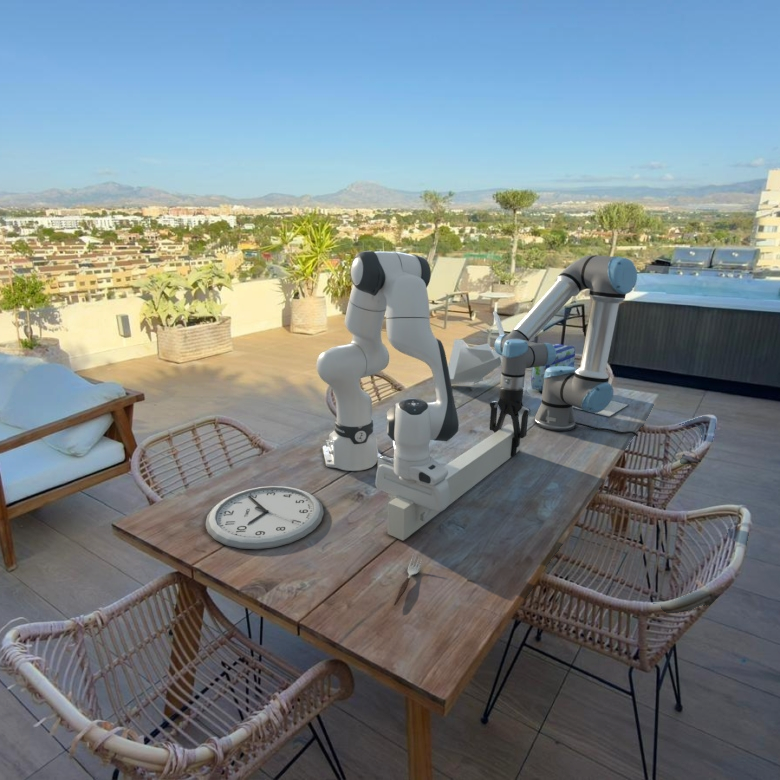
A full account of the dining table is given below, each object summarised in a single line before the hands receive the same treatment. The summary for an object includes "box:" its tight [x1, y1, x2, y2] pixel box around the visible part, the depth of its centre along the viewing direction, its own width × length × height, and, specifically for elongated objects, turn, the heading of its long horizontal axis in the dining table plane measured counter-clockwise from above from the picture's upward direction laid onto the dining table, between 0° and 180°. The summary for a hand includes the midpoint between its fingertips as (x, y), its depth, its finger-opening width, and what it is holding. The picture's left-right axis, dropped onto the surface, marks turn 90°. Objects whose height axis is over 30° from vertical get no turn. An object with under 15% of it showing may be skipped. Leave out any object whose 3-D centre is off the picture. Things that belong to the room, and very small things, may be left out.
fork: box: [393, 553, 424, 606], centre depth 112 cm, size 3×16×2 cm, turn 160°
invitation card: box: [573, 400, 629, 418], centre depth 226 cm, size 21×1×15 cm
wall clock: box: [205, 485, 325, 550], centre depth 137 cm, size 30×2×30 cm
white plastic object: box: [448, 310, 531, 397], centre depth 245 cm, size 37×45×31 cm
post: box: [387, 423, 521, 541], centre depth 154 cm, size 69×5×9 cm, turn 143°
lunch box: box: [530, 343, 576, 392], centre depth 248 cm, size 26×11×21 cm, turn 134°
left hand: (410, 514), depth 132 cm, fingers open, 7 cm apart
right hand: (505, 452), depth 177 cm, fingers closed on post, 5 cm apart
